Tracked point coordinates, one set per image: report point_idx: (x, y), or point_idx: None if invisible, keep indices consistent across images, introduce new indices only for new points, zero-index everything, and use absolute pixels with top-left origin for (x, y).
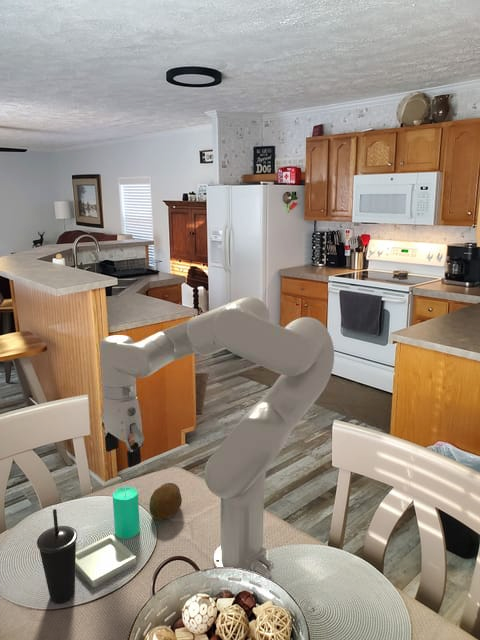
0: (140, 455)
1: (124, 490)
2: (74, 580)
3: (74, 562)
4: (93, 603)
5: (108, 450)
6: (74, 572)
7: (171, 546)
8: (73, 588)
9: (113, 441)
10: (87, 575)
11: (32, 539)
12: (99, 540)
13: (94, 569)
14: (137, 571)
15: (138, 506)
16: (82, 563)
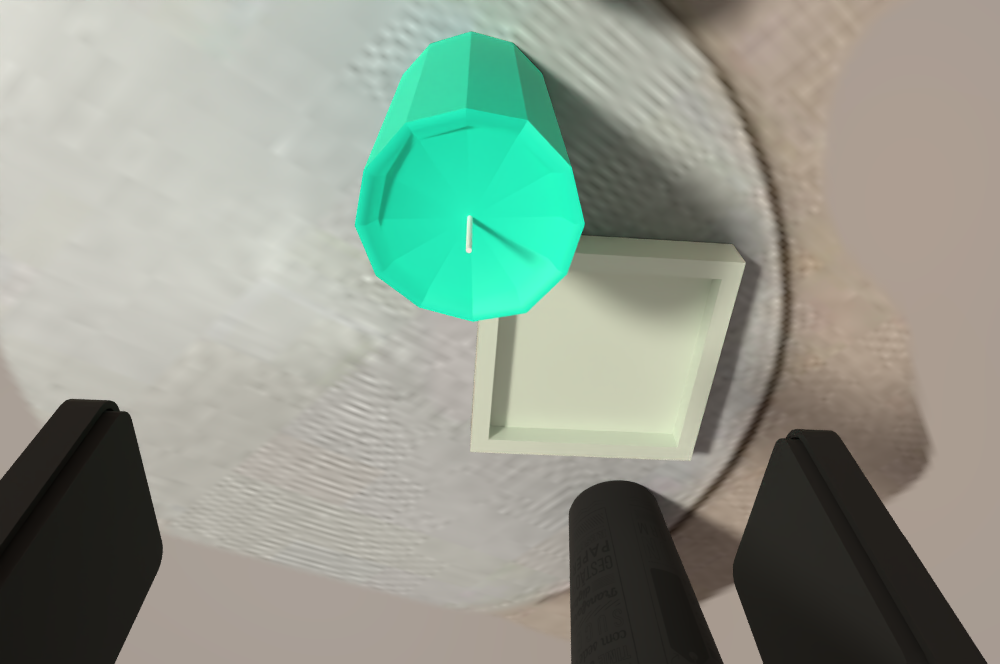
0: (892, 520)
1: (404, 185)
2: (668, 539)
3: (701, 617)
4: (745, 468)
5: (154, 561)
6: (682, 572)
7: (813, 12)
8: (664, 522)
9: (73, 604)
10: (645, 458)
11: (201, 461)
12: None
13: (615, 403)
14: (775, 270)
15: (525, 88)
16: (540, 418)
